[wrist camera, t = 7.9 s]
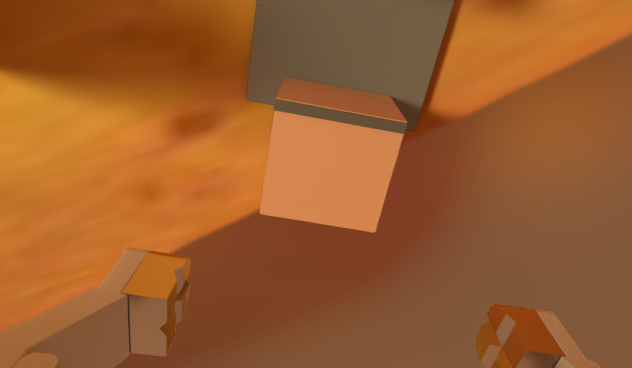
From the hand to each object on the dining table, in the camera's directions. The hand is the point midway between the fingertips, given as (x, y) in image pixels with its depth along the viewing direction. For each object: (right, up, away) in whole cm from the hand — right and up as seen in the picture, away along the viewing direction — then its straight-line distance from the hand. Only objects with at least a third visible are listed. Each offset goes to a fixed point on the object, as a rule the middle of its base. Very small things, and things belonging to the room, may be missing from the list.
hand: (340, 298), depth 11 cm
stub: (0, +6, +13) cm, 14 cm away
